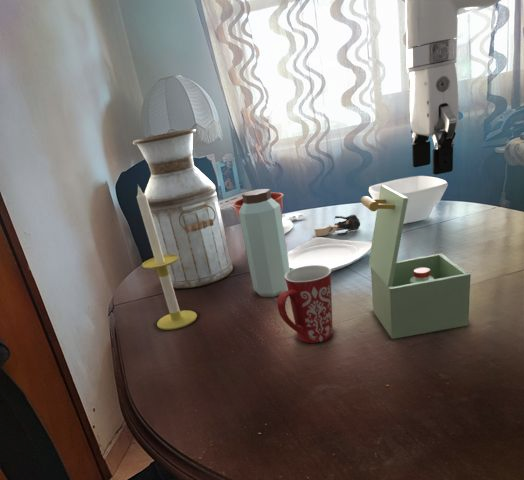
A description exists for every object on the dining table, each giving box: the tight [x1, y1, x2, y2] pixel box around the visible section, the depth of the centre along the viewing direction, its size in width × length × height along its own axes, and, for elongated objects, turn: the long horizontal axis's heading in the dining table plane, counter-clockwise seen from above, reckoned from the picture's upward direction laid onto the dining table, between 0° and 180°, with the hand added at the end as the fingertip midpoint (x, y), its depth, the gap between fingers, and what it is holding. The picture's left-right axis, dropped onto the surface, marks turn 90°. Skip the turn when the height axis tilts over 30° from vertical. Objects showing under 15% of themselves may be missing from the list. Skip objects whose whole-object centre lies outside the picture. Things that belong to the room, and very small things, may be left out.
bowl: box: [368, 175, 449, 225], centre depth 151 cm, size 22×22×12 cm
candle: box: [136, 185, 198, 331], centre depth 106 cm, size 10×10×32 cm
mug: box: [277, 265, 334, 344], centre depth 91 cm, size 13×9×14 cm
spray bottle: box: [282, 213, 305, 235], centre depth 173 cm, size 3×11×24 cm
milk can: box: [132, 128, 234, 289], centre depth 132 cm, size 24×21×40 cm
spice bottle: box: [410, 268, 434, 284], centre depth 91 cm, size 4×4×9 cm
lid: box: [360, 185, 408, 287], centre depth 85 cm, size 15×13×5 cm
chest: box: [370, 253, 472, 340], centre depth 91 cm, size 15×13×10 cm
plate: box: [287, 236, 372, 273], centre depth 133 cm, size 24×24×3 cm
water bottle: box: [238, 188, 290, 298], centre depth 114 cm, size 10×10×25 cm
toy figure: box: [313, 214, 361, 237], centre depth 153 cm, size 7×6×15 cm
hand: (431, 169), depth 82 cm, fingers open, 9 cm apart
